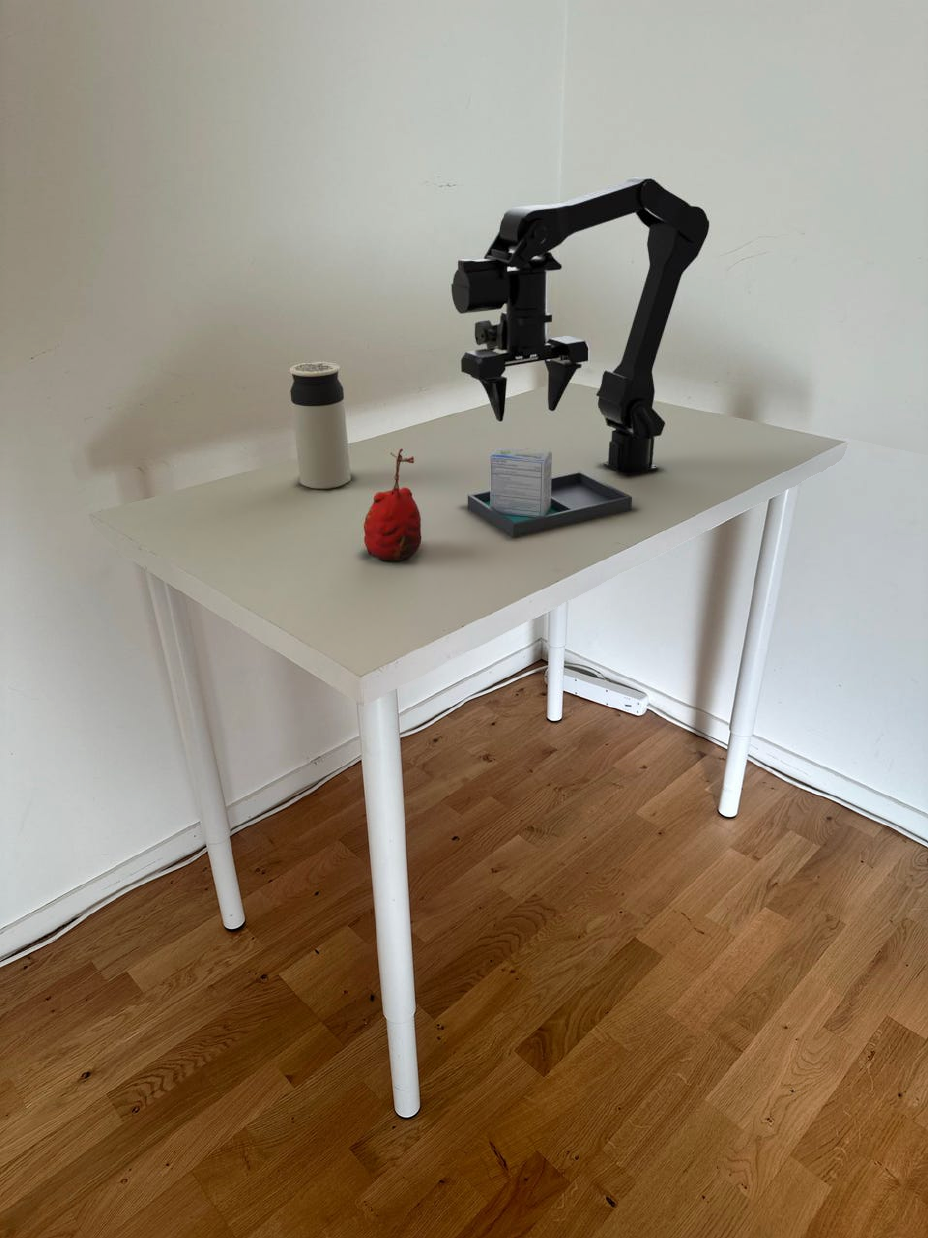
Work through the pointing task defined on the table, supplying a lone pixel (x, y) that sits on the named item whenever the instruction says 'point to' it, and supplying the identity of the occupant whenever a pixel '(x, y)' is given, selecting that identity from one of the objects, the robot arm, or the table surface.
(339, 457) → the travel mug
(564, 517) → the organiser tray
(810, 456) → the table surface
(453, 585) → the table surface
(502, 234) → the robot arm
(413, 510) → the red lumpy rounded piece
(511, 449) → the medicine box
